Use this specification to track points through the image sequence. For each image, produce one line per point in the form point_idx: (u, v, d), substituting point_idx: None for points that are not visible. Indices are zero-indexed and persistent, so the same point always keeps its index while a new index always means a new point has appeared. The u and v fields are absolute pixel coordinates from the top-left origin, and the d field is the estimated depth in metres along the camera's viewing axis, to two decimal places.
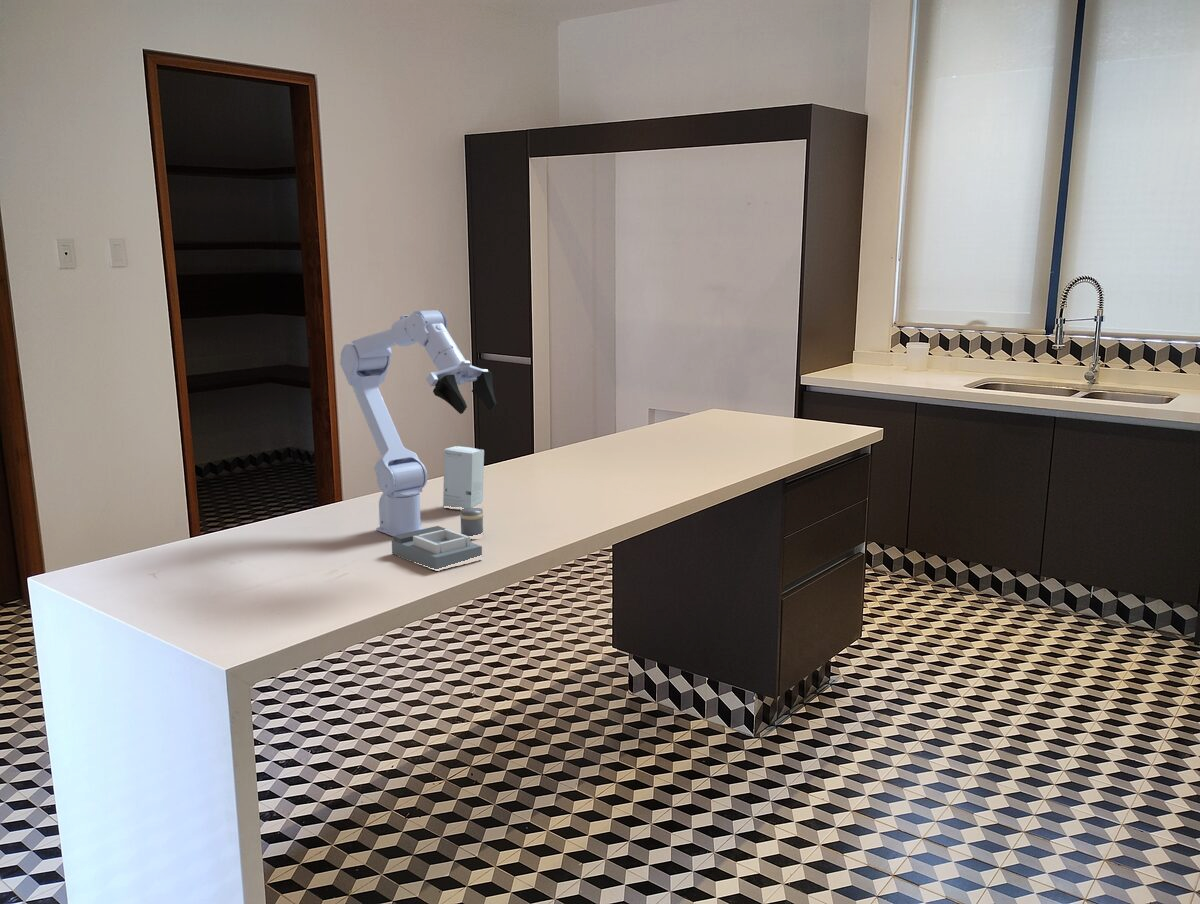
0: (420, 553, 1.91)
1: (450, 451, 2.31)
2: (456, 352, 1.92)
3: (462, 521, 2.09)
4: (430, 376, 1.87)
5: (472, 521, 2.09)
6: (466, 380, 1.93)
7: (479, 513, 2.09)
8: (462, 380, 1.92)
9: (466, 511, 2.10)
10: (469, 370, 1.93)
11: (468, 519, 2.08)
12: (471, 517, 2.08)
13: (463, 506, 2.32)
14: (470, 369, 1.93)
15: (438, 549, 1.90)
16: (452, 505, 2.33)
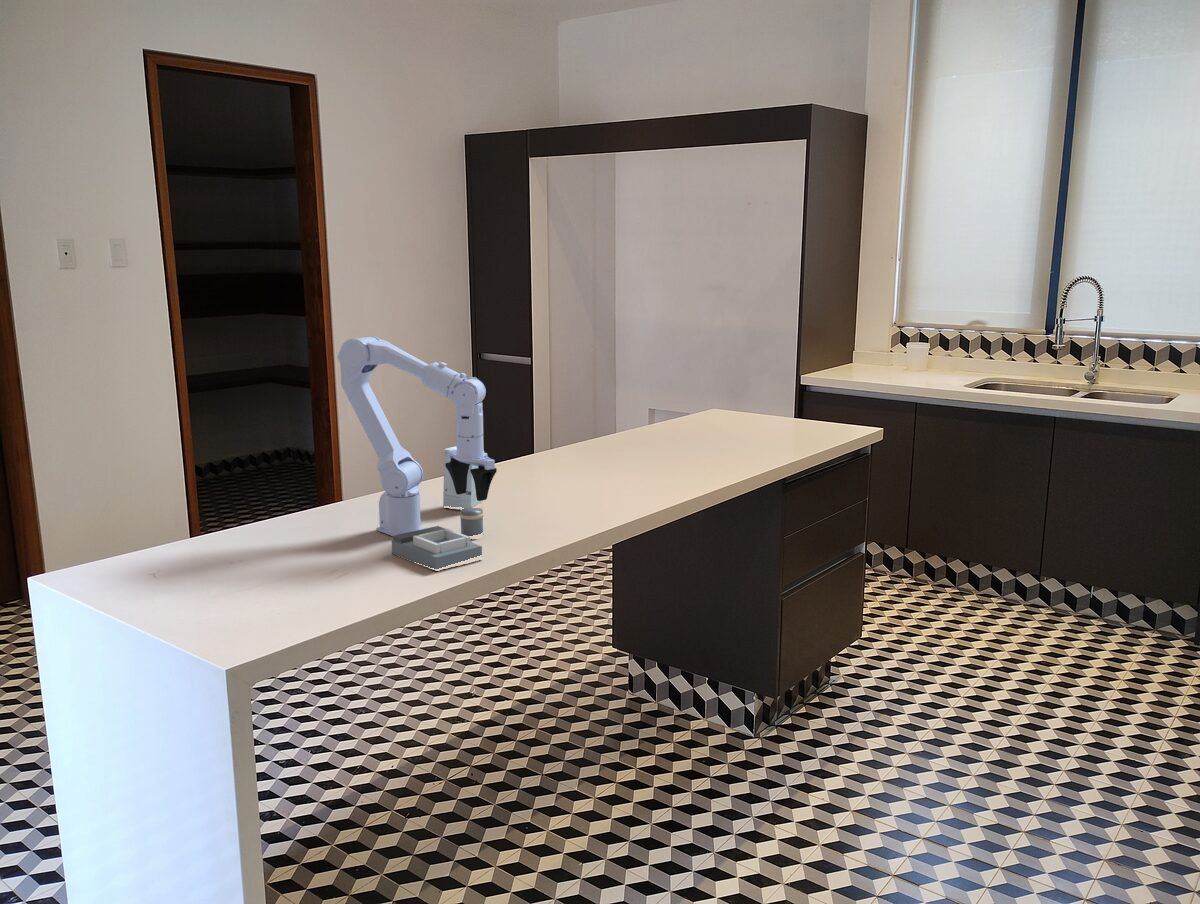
0: (420, 553, 1.91)
1: None
2: None
3: (462, 521, 2.09)
4: (493, 463, 2.04)
5: (472, 521, 2.09)
6: None
7: (479, 513, 2.09)
8: None
9: (466, 511, 2.10)
10: None
11: (468, 519, 2.08)
12: (471, 517, 2.08)
13: (463, 506, 2.32)
14: None
15: (438, 549, 1.90)
16: (452, 505, 2.33)
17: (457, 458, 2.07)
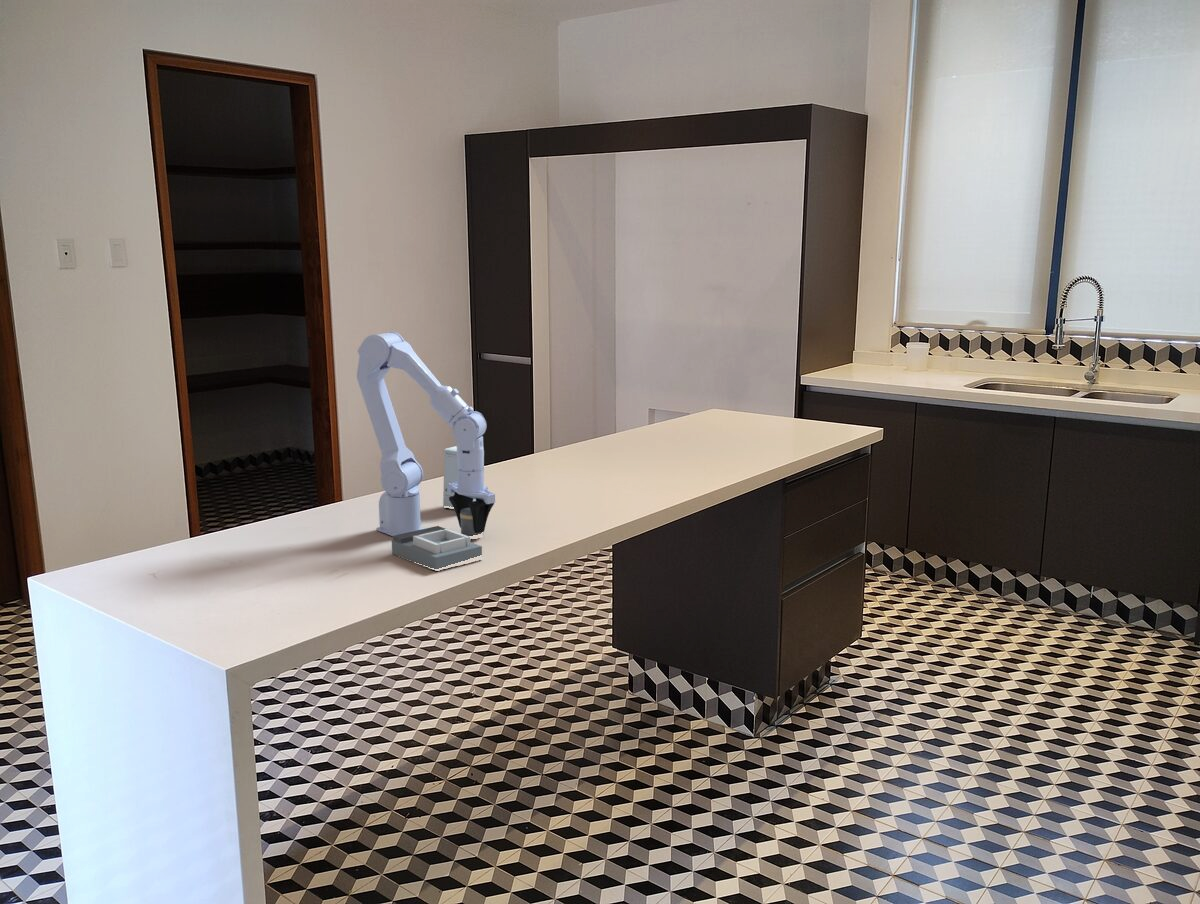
0: (420, 553, 1.91)
1: (450, 451, 2.31)
2: None
3: (462, 521, 2.09)
4: (494, 497, 2.05)
5: (472, 521, 2.09)
6: None
7: None
8: None
9: (466, 511, 2.10)
10: None
11: (468, 519, 2.08)
12: (471, 517, 2.08)
13: None
14: None
15: (438, 549, 1.90)
16: (452, 505, 2.33)
17: (458, 492, 2.08)
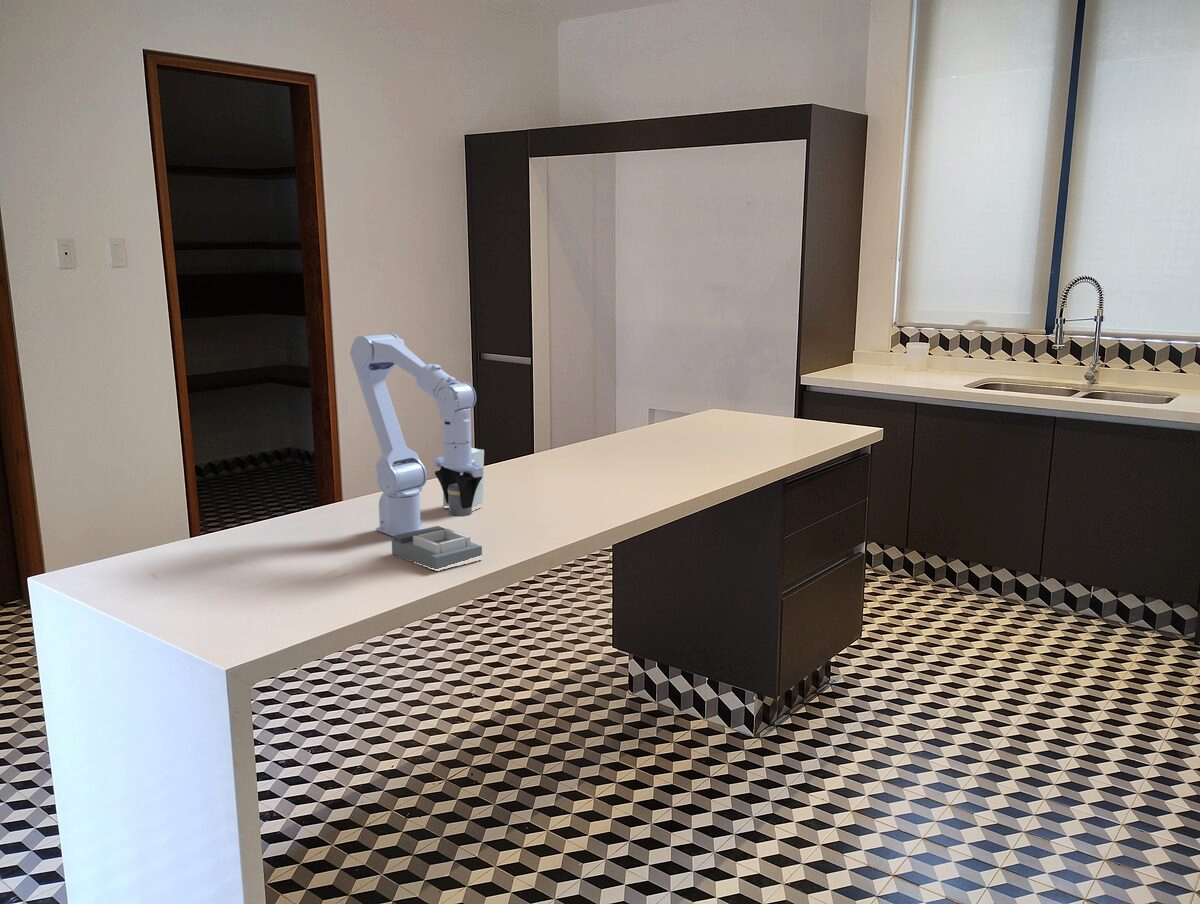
0: (420, 553, 1.91)
1: None
2: None
3: (450, 497, 2.01)
4: (482, 470, 1.97)
5: None
6: None
7: None
8: None
9: (454, 486, 2.02)
10: None
11: (456, 495, 2.00)
12: None
13: None
14: None
15: (438, 549, 1.90)
16: None
17: (444, 465, 2.00)
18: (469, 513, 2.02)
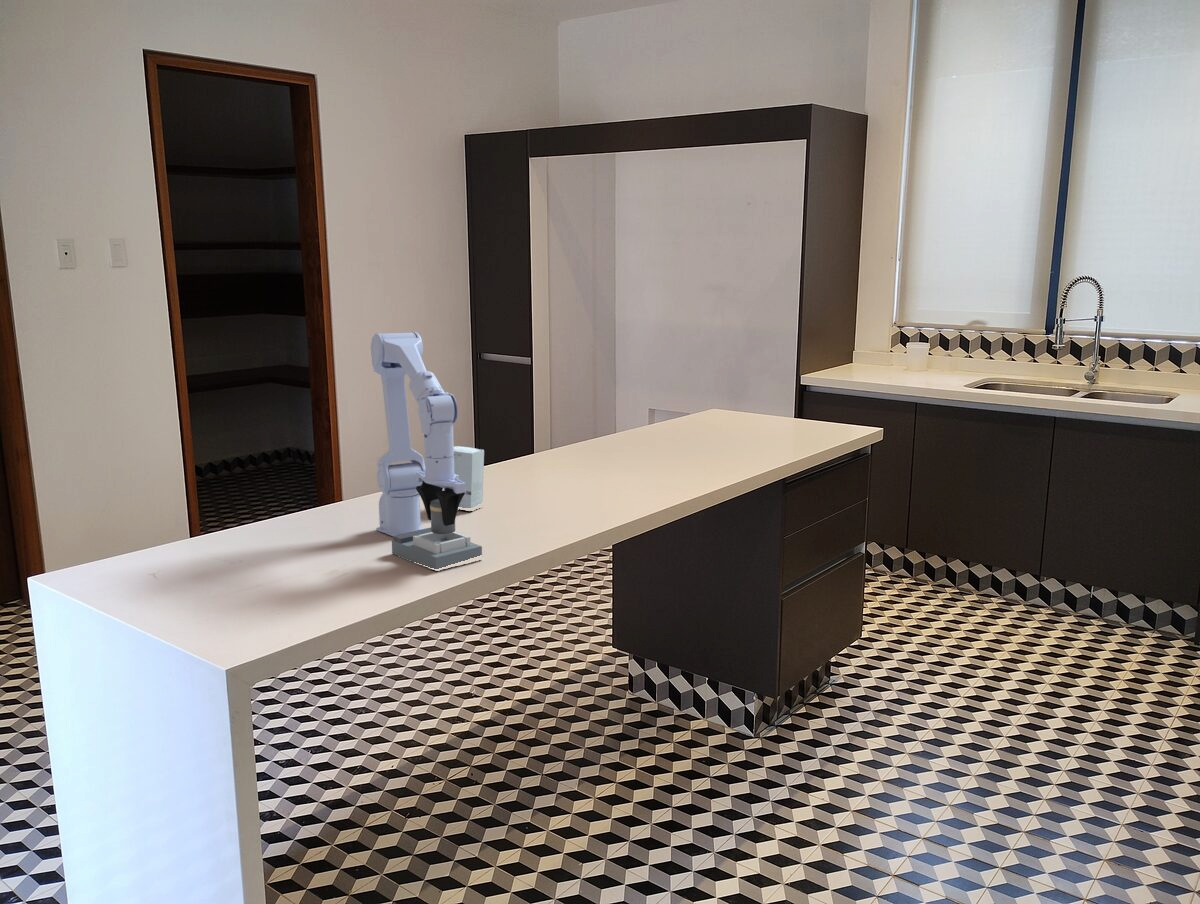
0: (420, 553, 1.91)
1: None
2: None
3: (433, 514, 1.93)
4: (464, 486, 1.88)
5: None
6: None
7: None
8: None
9: (437, 502, 1.93)
10: None
11: (440, 512, 1.92)
12: None
13: (463, 506, 2.32)
14: None
15: (438, 549, 1.90)
16: None
17: (425, 480, 1.91)
18: (453, 530, 1.94)
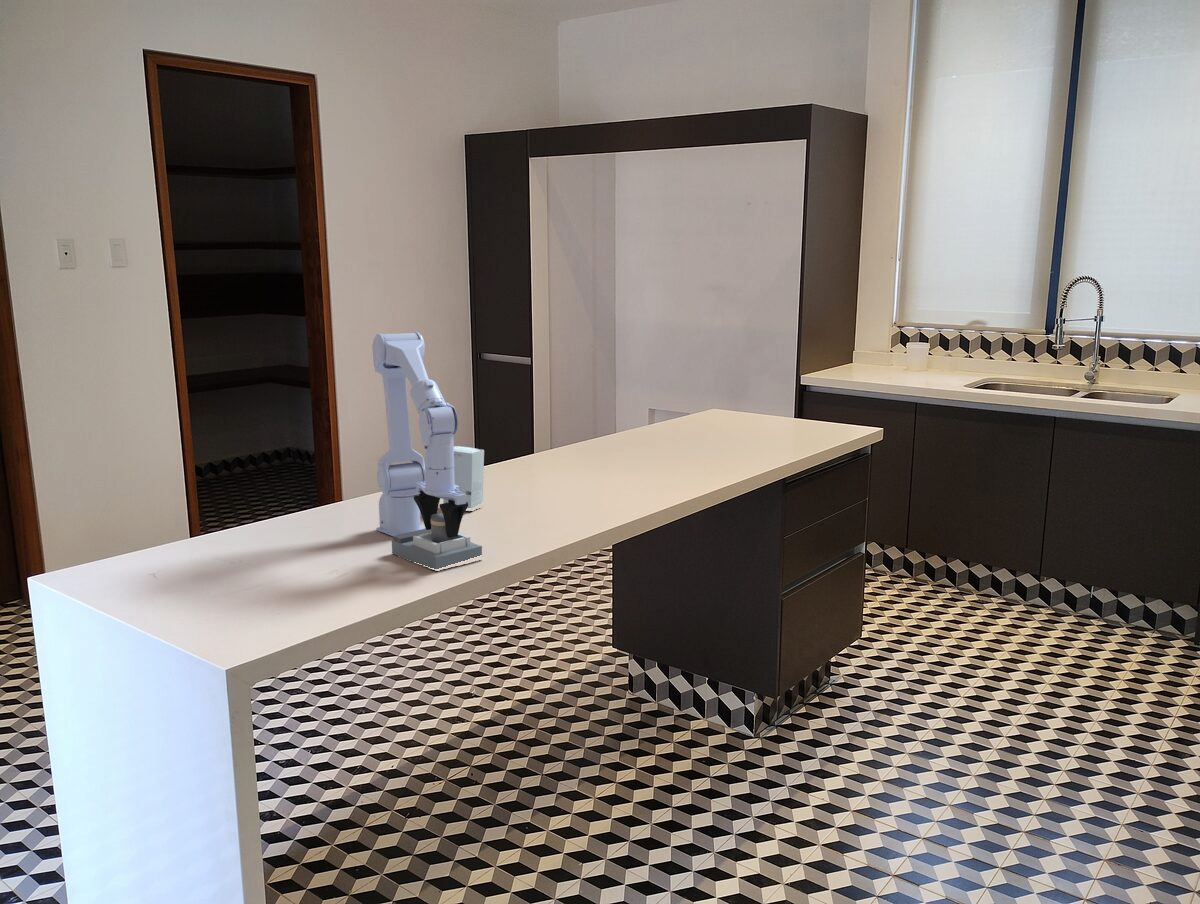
0: (420, 553, 1.91)
1: None
2: None
3: (433, 528, 1.93)
4: (464, 497, 1.88)
5: (445, 527, 1.93)
6: None
7: None
8: None
9: (438, 516, 1.94)
10: None
11: (440, 526, 1.92)
12: (444, 523, 1.92)
13: None
14: None
15: (438, 549, 1.90)
16: None
17: (426, 491, 1.91)
18: None
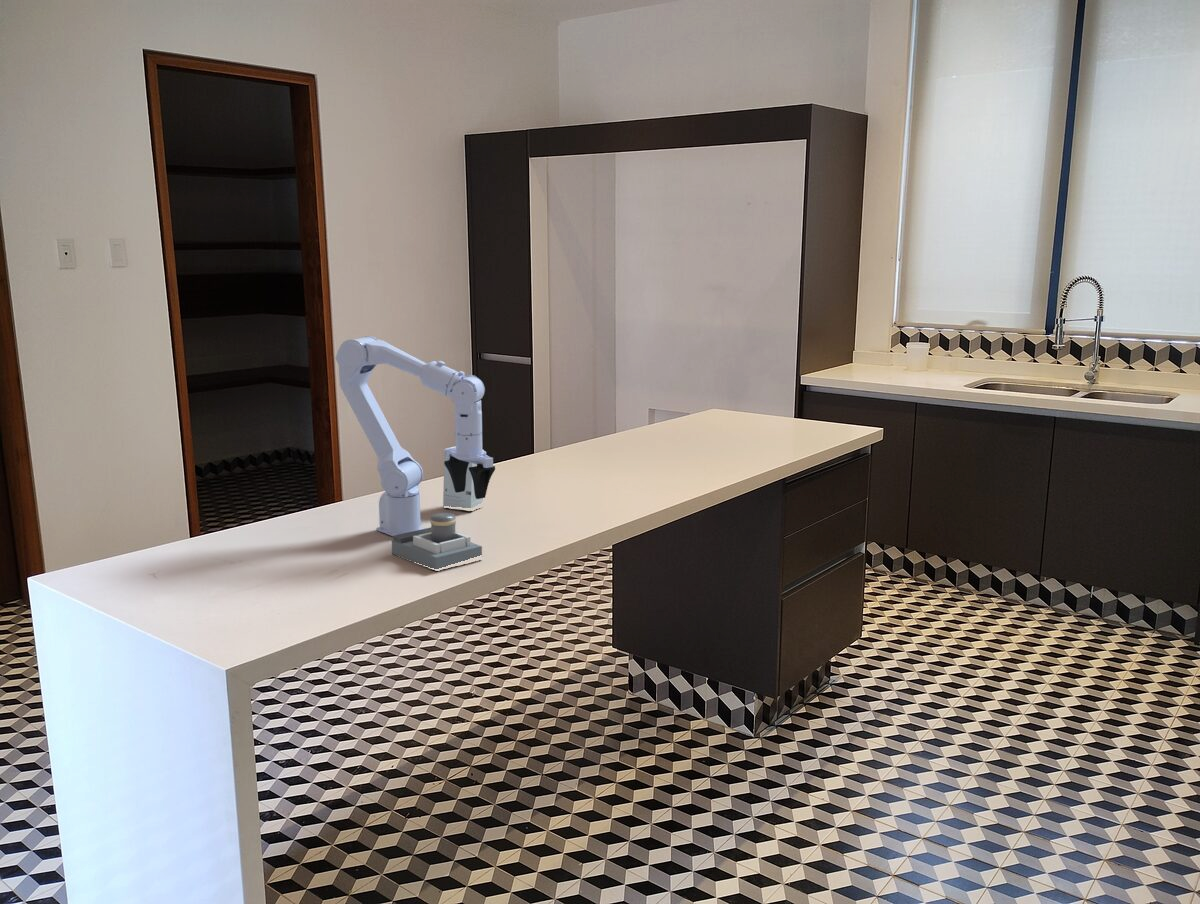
0: (420, 553, 1.91)
1: None
2: None
3: (433, 528, 1.93)
4: (491, 461, 2.03)
5: (445, 528, 1.93)
6: None
7: (452, 519, 1.93)
8: None
9: (438, 516, 1.94)
10: None
11: (440, 526, 1.92)
12: (444, 523, 1.92)
13: (463, 506, 2.32)
14: None
15: (438, 549, 1.90)
16: (452, 505, 2.33)
17: (456, 456, 2.07)
18: None
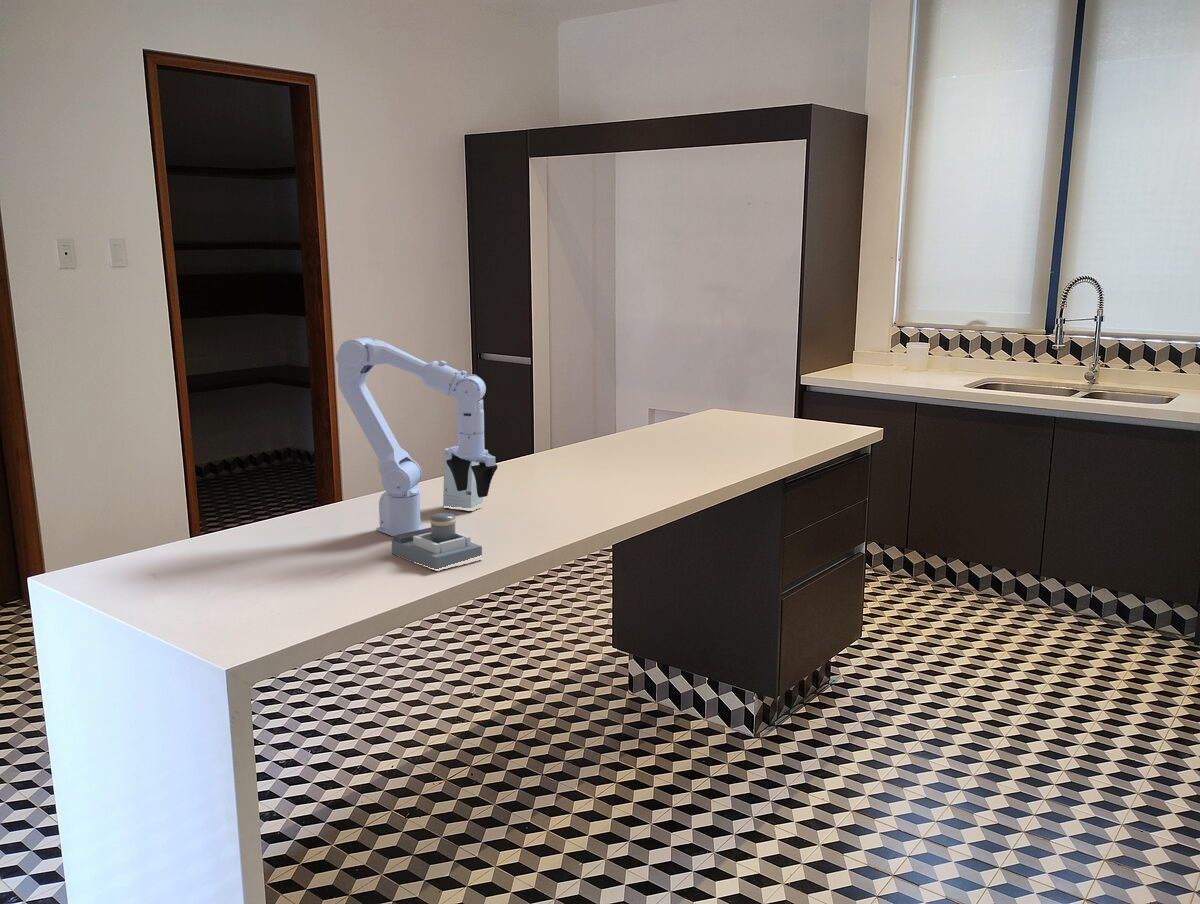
0: (420, 553, 1.91)
1: None
2: None
3: (433, 528, 1.93)
4: (494, 459, 2.05)
5: (445, 527, 1.93)
6: None
7: (452, 518, 1.93)
8: None
9: (438, 516, 1.94)
10: None
11: (440, 526, 1.92)
12: (444, 523, 1.92)
13: (463, 506, 2.32)
14: None
15: (438, 549, 1.90)
16: (452, 505, 2.33)
17: (458, 455, 2.08)
18: None
